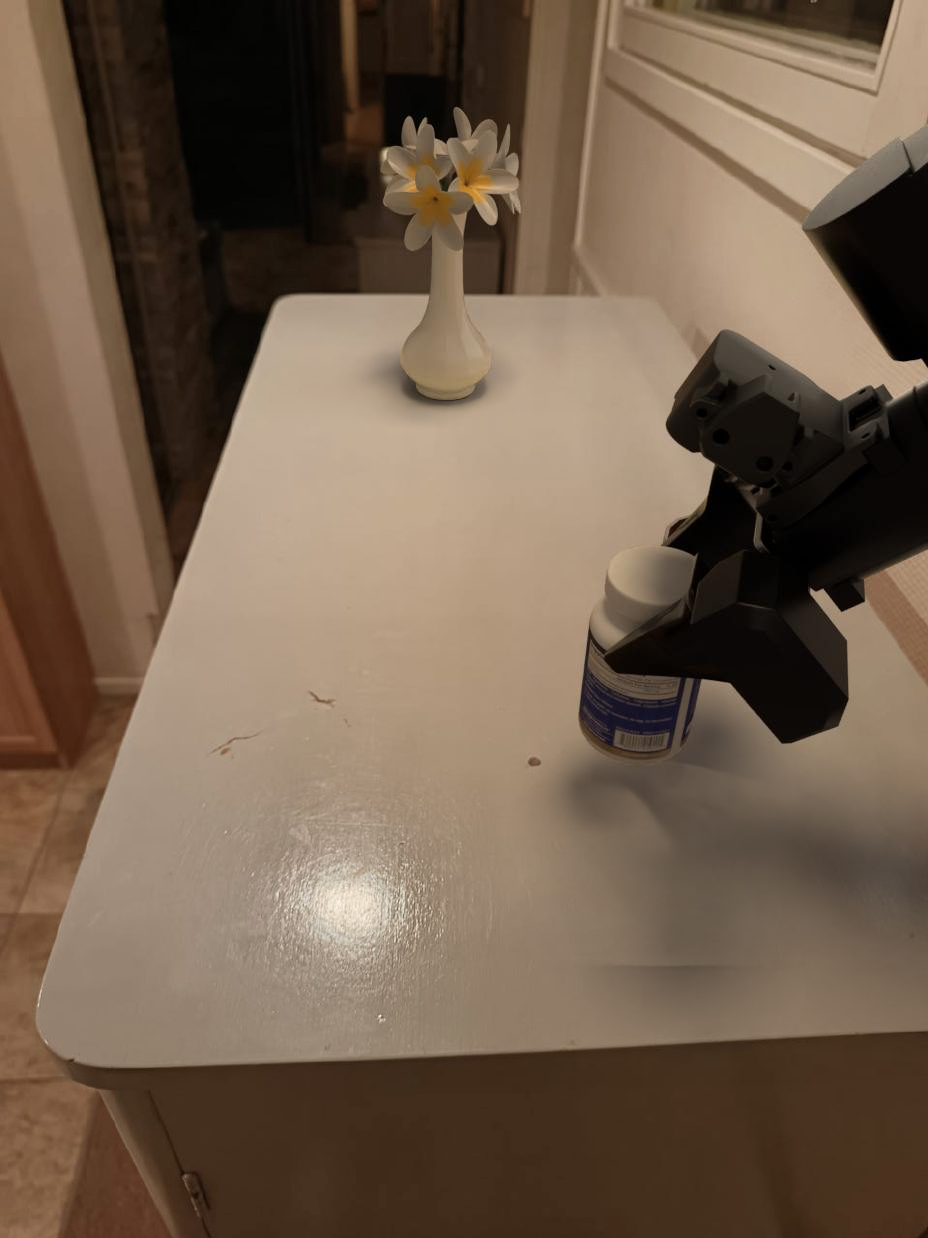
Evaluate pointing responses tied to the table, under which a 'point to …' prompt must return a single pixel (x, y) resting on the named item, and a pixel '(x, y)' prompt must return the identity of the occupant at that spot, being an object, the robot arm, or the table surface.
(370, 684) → the table surface
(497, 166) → the flower vase
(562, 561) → the table surface
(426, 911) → the table surface
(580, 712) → the pill bottle
